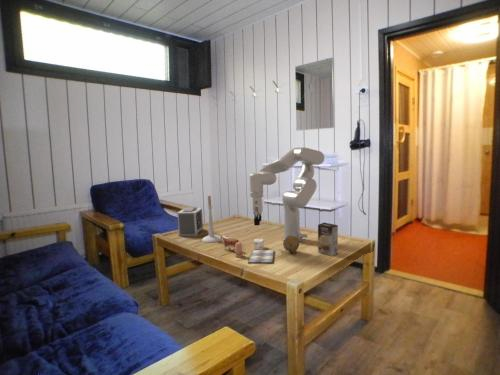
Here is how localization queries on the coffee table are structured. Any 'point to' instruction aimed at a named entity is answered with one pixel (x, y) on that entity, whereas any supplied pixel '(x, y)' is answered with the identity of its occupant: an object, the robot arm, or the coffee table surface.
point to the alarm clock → (190, 221)
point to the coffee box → (328, 238)
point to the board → (261, 256)
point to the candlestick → (211, 227)
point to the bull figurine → (229, 241)
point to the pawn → (238, 250)
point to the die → (258, 244)
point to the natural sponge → (291, 243)
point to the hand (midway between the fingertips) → (257, 223)
